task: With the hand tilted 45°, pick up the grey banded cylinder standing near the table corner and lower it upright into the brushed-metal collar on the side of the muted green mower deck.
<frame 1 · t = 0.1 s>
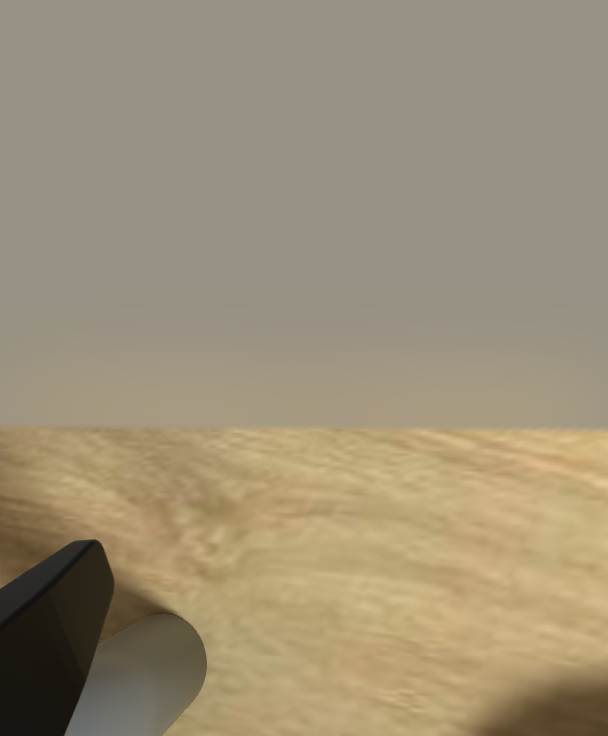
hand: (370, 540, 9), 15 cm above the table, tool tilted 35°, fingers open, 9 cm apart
grey banded cylinder: (161, 663, 23), on the table
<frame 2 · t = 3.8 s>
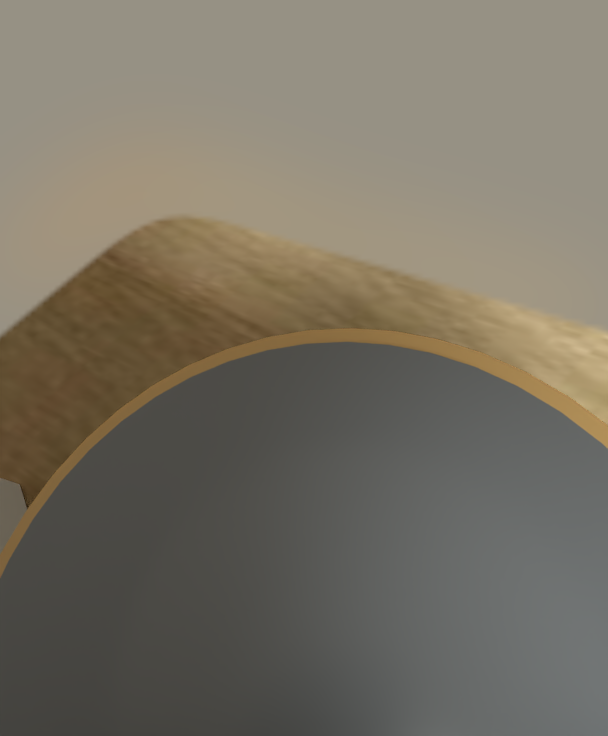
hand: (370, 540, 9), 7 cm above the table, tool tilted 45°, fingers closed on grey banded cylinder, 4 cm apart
grey banded cylinder: (392, 626, 14), on the table, touching gripper
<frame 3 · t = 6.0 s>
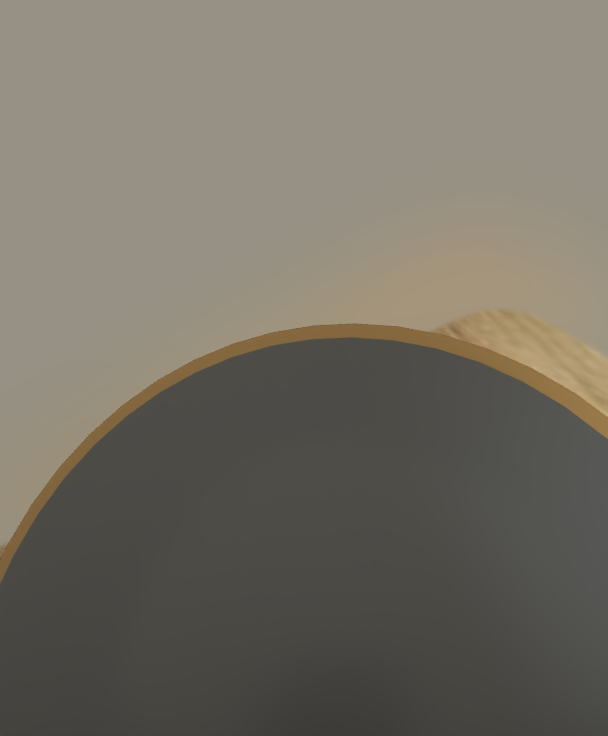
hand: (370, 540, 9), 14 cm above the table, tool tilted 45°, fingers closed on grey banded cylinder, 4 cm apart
grey banded cylinder: (393, 624, 14), point 7 cm above the table, touching gripper
when the fingers open (8 cm above the table, at t = 7.9 s): grey banded cylinder drops 1 cm, resting in mower deck.
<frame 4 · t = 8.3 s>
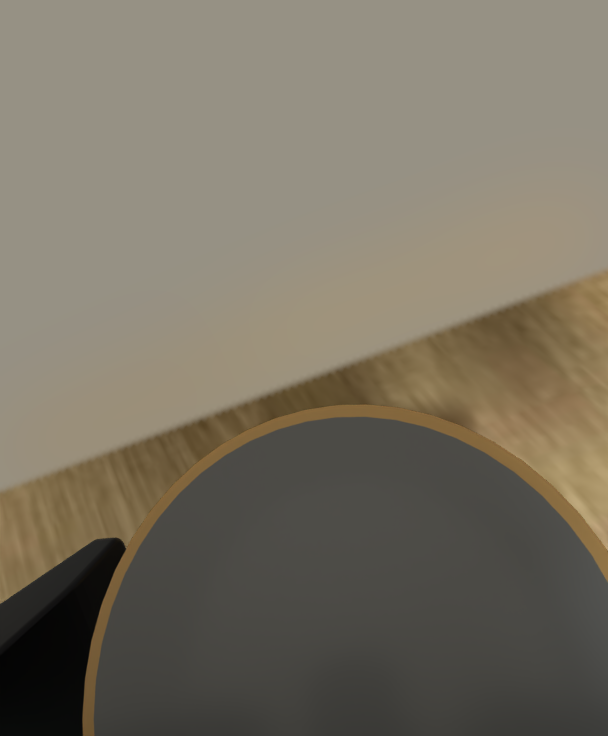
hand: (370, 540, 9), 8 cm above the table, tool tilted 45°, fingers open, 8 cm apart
grey banded cylinder: (393, 625, 15), resting in mower deck
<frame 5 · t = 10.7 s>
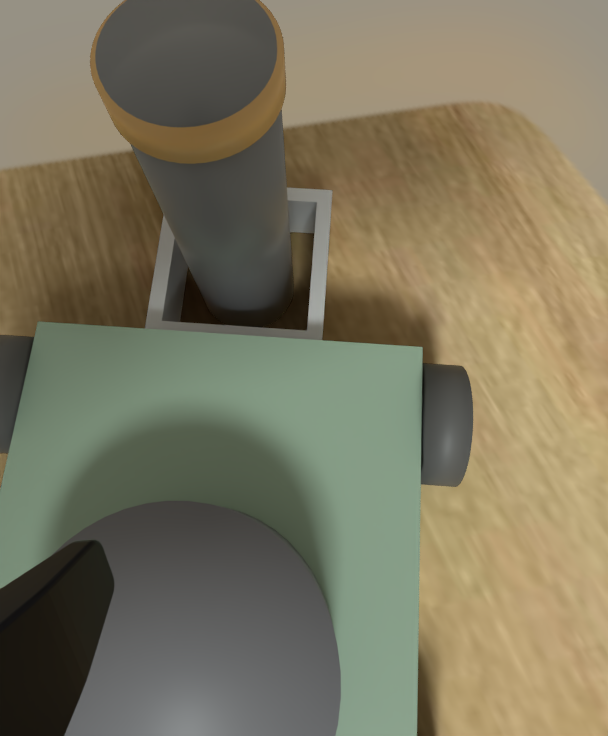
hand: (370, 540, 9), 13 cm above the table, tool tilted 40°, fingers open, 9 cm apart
mower deck: (248, 286, 24), on the table
grey banded cylinder: (248, 287, 24), resting in mower deck
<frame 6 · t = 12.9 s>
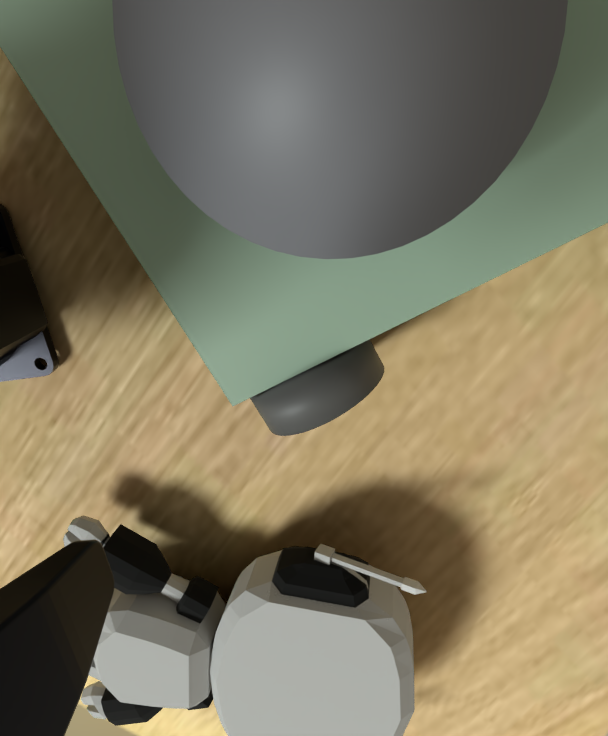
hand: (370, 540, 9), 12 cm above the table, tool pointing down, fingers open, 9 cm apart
robot toy: (248, 604, 26), on the table
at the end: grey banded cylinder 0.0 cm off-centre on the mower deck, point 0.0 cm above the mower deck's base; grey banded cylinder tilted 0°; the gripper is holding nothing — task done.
